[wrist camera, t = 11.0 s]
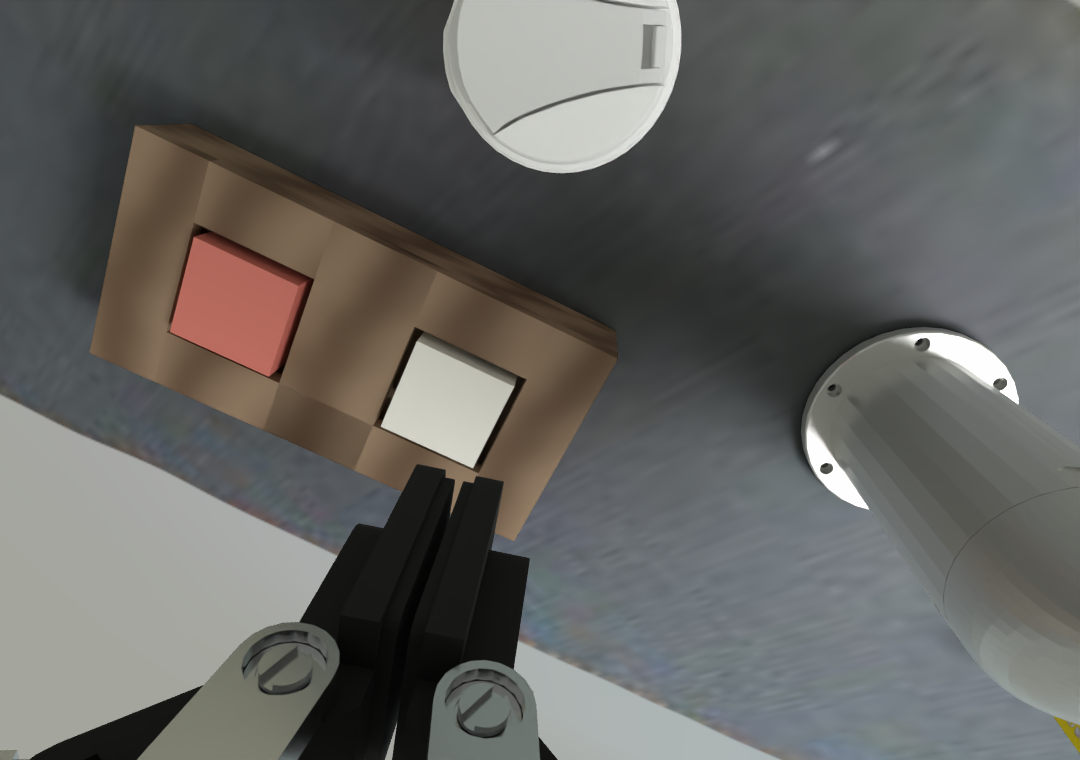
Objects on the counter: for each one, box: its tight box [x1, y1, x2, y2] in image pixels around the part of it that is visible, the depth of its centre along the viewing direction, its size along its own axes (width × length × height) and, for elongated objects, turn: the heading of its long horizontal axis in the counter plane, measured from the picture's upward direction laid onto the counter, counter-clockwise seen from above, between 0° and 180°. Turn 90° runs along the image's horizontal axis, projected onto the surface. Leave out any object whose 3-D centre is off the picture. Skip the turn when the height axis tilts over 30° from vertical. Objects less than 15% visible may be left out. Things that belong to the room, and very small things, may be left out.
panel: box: [90, 124, 618, 541], centre depth 40 cm, size 28×14×5 cm, turn 64°
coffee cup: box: [443, 0, 681, 173], centre depth 28 cm, size 8×8×15 cm
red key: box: [170, 231, 314, 377], centre depth 38 cm, size 6×6×3 cm
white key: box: [381, 331, 518, 468], centre depth 39 cm, size 6×6×3 cm
